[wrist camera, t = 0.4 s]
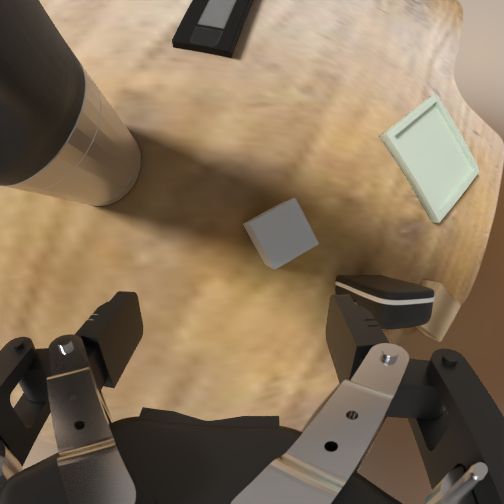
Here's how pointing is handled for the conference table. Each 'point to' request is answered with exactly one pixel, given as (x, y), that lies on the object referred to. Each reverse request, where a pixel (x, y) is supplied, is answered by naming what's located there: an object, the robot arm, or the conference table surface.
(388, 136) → the tray
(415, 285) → the battery charger
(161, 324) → the conference table surface
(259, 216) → the grey box
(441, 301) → the oak block
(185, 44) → the vhs tape
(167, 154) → the conference table surface
